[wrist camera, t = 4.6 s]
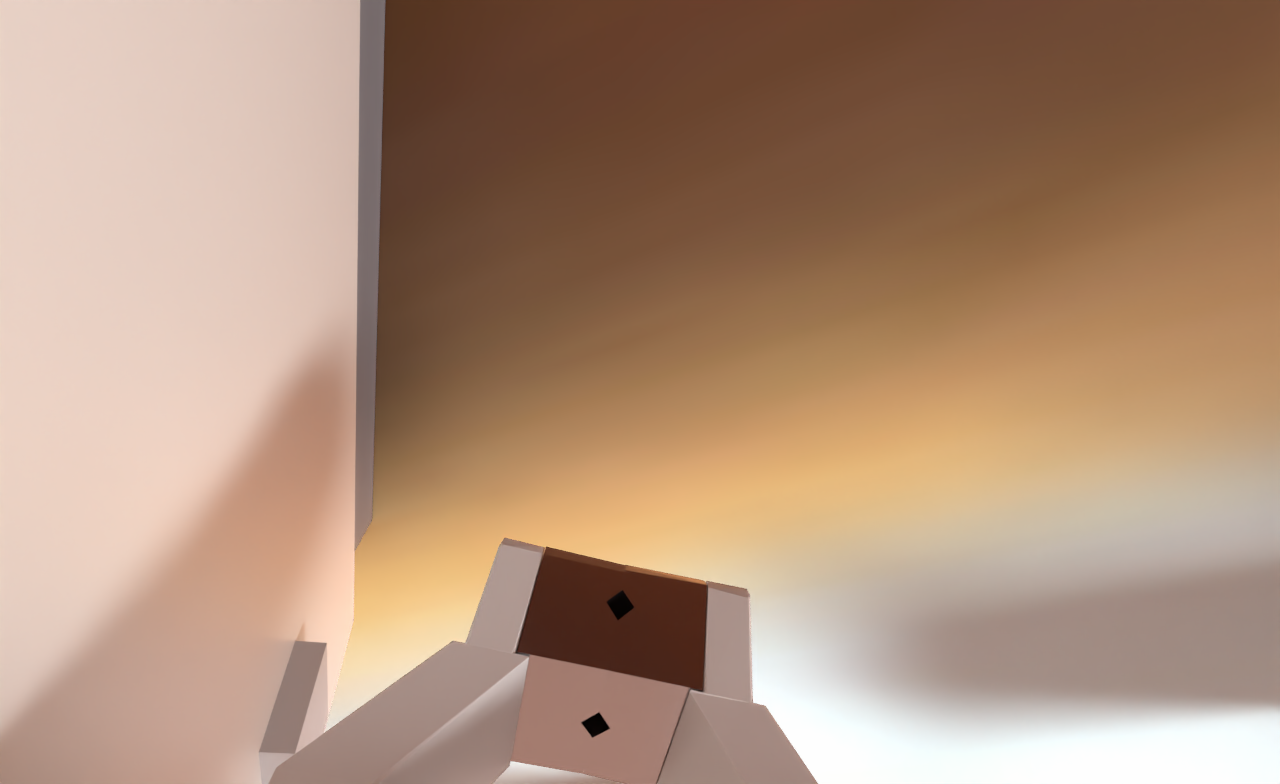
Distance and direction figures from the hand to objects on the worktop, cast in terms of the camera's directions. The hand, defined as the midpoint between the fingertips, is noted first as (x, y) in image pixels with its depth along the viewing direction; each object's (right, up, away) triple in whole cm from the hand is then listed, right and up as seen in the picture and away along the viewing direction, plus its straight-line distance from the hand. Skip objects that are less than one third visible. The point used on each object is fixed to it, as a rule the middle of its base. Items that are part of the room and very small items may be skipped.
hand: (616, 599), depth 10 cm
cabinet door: (-6, +3, +1) cm, 7 cm away
